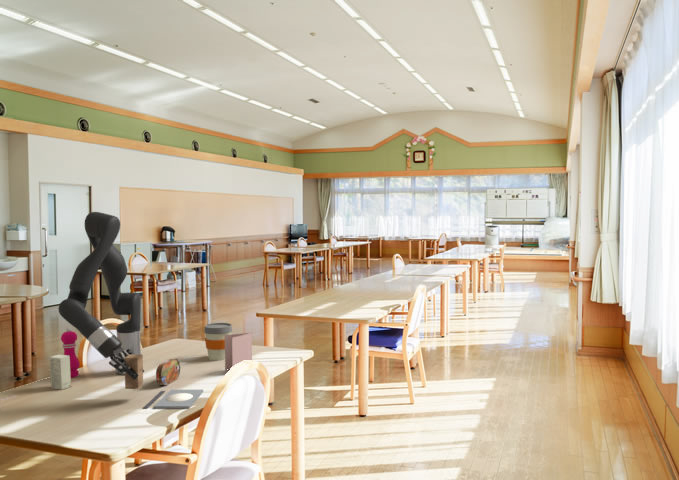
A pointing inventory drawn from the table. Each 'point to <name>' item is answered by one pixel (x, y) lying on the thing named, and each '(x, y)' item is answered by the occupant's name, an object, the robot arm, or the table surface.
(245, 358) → the greeting card
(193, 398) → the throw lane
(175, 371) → the tin
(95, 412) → the table surface
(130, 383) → the square wooden post
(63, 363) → the skincare box
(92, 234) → the robot arm
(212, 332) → the reusable coffee cup
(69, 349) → the pepper mill
